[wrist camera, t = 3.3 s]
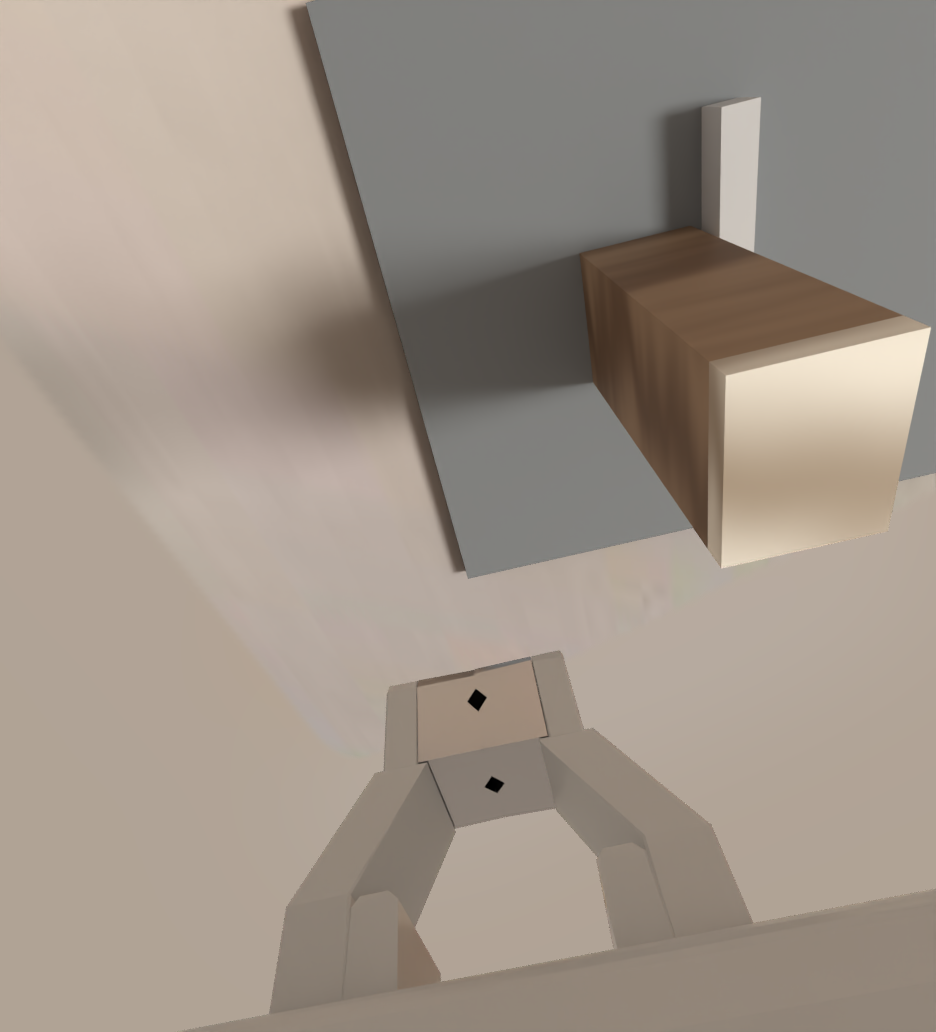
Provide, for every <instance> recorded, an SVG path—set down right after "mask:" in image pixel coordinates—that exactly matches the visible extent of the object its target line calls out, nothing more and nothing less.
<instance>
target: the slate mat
mask: <svg viewBox="0 0 936 1032" xmlns="http://www.w3.org/2000/svg"><path fill="white" fill-rule="evenodd" d="M306 6H307V9H308V13H309V16H310V20H311V23H312V27H313V30H314V34H315V38H316V41H317V45H318V48H319V52H320V55H321V59H322V62H323V66H324V69H325V73H326V77H327V80H328V84H329V87H330V91H331V94H332V98H333V101H334V105H335V108H336V112H337V116H338V119H339V123H340V126H341V130H342V133H343V137H344V140H345V144H346V147H347V151H348V155H349V158H350V162H351V165H352V169H353V172H354V176H355V179H356V183H357V186H358V190H359V194H360V197H361V201H362V204H363V208H364V211H365V215H366V218H367V222H368V225H369V229H370V233H371V236H372V240H373V243H374V247H375V250H376V254H377V257H378V261H379V264H380V268H381V271H382V275H383V279H384V282H385V286H386V289H387V293H388V296H389V300H390V303H391V307H392V310H393V314H394V318H395V321H396V325H397V328H398V332H399V335H400V339H401V342H402V346H403V349H404V353H405V357H406V360H407V364H408V367H409V371H410V374H411V378H412V381H413V385H414V388H415V392H416V396H417V399H418V403H419V406H420V410H421V413H422V417H423V420H424V424H425V427H426V431H427V435H428V438H429V442H430V445H431V449H432V452H433V456H434V459H435V463H436V466H437V470H438V474H439V477H440V481H441V484H442V488H443V491H444V495H445V498H446V502H447V505H448V509H449V513H450V516H451V520H452V523H453V527H454V530H455V534H456V537H457V541H458V544H459V548H460V552H461V555H462V559H463V562H464V566H465V569H466V573H467V576H468V579H469V578H473V577H478V576H482V575H487V574H491V573H495V572H500V571H504V570H509V569H513V568H517V567H522V566H526V565H531V564H535V563H540V562H544V561H548V560H553V559H557V558H562V557H566V556H571V555H575V554H579V553H584V552H588V551H593V550H597V549H601V548H606V547H610V546H615V545H619V544H624V543H628V542H632V541H637V540H641V539H646V538H650V537H655V536H659V535H663V534H668V533H672V532H677V531H681V530H686V529H690V528H693V527H692V525H691V524H690V522H689V521H688V519H687V518H686V516H685V515H684V514H683V512H682V511H681V509H680V508H679V506H678V505H677V503H676V502H675V501H674V499H673V498H672V496H671V495H670V493H669V492H668V490H667V489H666V487H665V486H664V485H663V483H662V482H661V480H660V479H659V477H658V476H657V474H656V473H655V472H654V470H653V469H652V467H651V466H650V464H649V463H648V461H647V460H646V458H645V457H644V456H643V454H642V453H641V451H640V450H639V448H638V447H637V445H636V444H635V442H634V441H633V440H632V438H631V437H630V435H629V434H628V432H627V431H626V429H625V428H624V427H623V425H622V424H621V422H620V421H619V419H618V418H617V416H616V415H615V413H614V412H613V411H612V409H611V408H610V406H609V405H608V403H607V402H606V400H605V399H604V398H603V396H602V395H601V393H600V392H599V390H598V389H597V387H596V386H595V384H594V383H593V376H592V367H591V357H590V348H589V338H588V329H587V320H586V310H585V301H584V291H583V282H582V272H581V263H580V253H582V252H586V251H590V250H594V249H598V248H602V247H606V246H610V245H614V244H618V243H622V242H626V241H631V240H635V239H639V238H643V237H647V236H651V235H655V234H659V233H663V232H667V231H671V230H675V229H679V228H683V227H687V226H692V227H695V228H697V229H700V230H702V231H704V232H707V233H709V234H711V235H714V236H716V237H718V238H721V239H723V240H726V241H728V242H730V243H733V244H735V245H737V246H740V247H742V248H745V249H747V250H749V251H752V252H754V253H756V254H759V255H761V256H764V257H766V258H768V259H771V260H773V261H775V262H778V263H780V264H783V265H785V266H787V267H790V268H792V269H794V270H797V271H799V272H802V273H804V274H806V275H809V276H811V277H813V278H816V279H818V280H821V281H823V282H825V283H828V284H830V285H832V286H835V287H837V288H840V289H842V290H844V291H847V292H849V293H851V294H854V295H856V296H858V297H861V298H863V299H866V300H868V301H870V302H873V303H875V304H877V305H880V306H882V307H885V308H887V309H889V310H892V311H894V312H896V313H899V314H901V315H904V316H906V317H908V318H911V319H913V320H915V321H918V322H920V323H923V324H925V325H927V326H930V327H931V331H930V335H929V340H928V345H927V349H926V354H925V359H924V363H923V368H922V373H921V377H920V382H919V387H918V392H917V396H916V401H915V406H914V410H913V415H912V420H911V424H910V429H909V434H908V439H907V443H906V448H905V453H904V457H903V462H902V467H901V471H900V476H899V481H902V480H907V479H911V478H915V477H920V476H924V475H929V474H933V473H936V0H315V1H311V2H308V3H306Z"/></svg>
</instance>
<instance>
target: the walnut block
mask: <svg viewBox="0 0 936 1032" xmlns="http://www.w3.org/2000/svg"><path fill="white" fill-rule="evenodd" d="M580 263H581V272H582V282H583V291H584V301H585V310H586V320H587V329H588V338H589V348H590V357H591V367H592V376H593V383H594V384H595V386H596V387H597V389H598V390H599V392H600V393H601V395H602V396H603V398H604V399H605V400H606V402H607V403H608V405H609V406H610V408H611V409H612V411H613V412H614V413H615V415H616V416H617V418H618V419H619V421H620V422H621V424H622V425H623V427H624V428H625V429H626V431H627V432H628V434H629V435H630V437H631V438H632V440H633V441H634V442H635V444H636V445H637V447H638V448H639V450H640V451H641V453H642V454H643V456H644V457H645V458H646V460H647V461H648V463H649V464H650V466H651V467H652V469H653V470H654V472H655V473H656V474H657V476H658V477H659V479H660V480H661V482H662V483H663V485H664V486H665V487H666V489H667V490H668V492H669V493H670V495H671V496H672V498H673V499H674V501H675V502H676V503H677V505H678V506H679V508H680V509H681V511H682V512H683V514H684V515H685V516H686V518H687V519H688V521H689V522H690V524H691V525H692V527H693V528H694V530H695V531H696V532H697V534H698V535H699V537H700V538H701V540H702V541H703V543H704V544H705V546H706V547H707V548H708V550H709V551H710V553H711V554H712V556H713V557H714V559H715V560H716V561H717V563H718V564H719V566H720V567H721V568H725V567H730V566H734V565H739V564H743V563H748V562H752V561H757V560H761V559H766V558H770V557H775V556H779V555H784V554H788V553H793V552H797V551H802V550H806V549H811V548H815V547H820V546H824V545H829V544H833V543H838V542H842V541H847V540H851V539H856V538H860V537H864V536H869V535H873V534H878V533H882V532H887V531H888V528H889V523H890V518H891V514H892V509H893V504H894V500H895V495H896V490H897V485H898V481H899V476H900V471H901V467H902V462H903V457H904V453H905V448H906V443H907V439H908V434H909V429H910V424H911V420H912V415H913V410H914V406H915V401H916V396H917V392H918V387H919V382H920V377H921V373H922V368H923V363H924V359H925V354H926V349H927V345H928V340H929V335H930V331H931V327H930V326H927V325H925V324H923V323H920V322H918V321H915V320H913V319H911V318H908V317H906V316H904V315H901V314H899V313H896V312H894V311H892V310H889V309H887V308H885V307H882V306H880V305H877V304H875V303H873V302H870V301H868V300H866V299H863V298H861V297H858V296H856V295H854V294H851V293H849V292H847V291H844V290H842V289H840V288H837V287H835V286H832V285H830V284H828V283H825V282H823V281H821V280H818V279H816V278H813V277H811V276H809V275H806V274H804V273H802V272H799V271H797V270H794V269H792V268H790V267H787V266H785V265H783V264H780V263H778V262H775V261H773V260H771V259H768V258H766V257H764V256H761V255H759V254H756V253H754V252H752V251H749V250H747V249H745V248H742V247H740V246H737V245H735V244H733V243H730V242H728V241H726V240H723V239H721V238H718V237H716V236H714V235H711V234H709V233H707V232H704V231H702V230H700V229H697V228H695V227H692V226H687V227H683V228H679V229H675V230H671V231H667V232H663V233H659V234H655V235H651V236H647V237H643V238H639V239H635V240H631V241H626V242H622V243H618V244H614V245H610V246H606V247H602V248H598V249H594V250H590V251H586V252H582V253H580Z"/></svg>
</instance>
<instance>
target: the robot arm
mask: <svg viewBox="0 0 936 1032" xmlns="http://www.w3.org/2000/svg"><path fill="white" fill-rule="evenodd" d="M532 664H533V665H532ZM534 673H535V674H534ZM535 677H536V678H535ZM537 686H538V687H537ZM540 699H541V700H540ZM555 808H556V810H557V812H558V813H559V814H560V815H561V816H562V817H563V819H564V820H565V821H566V822H567V823H568V824H569V825H570V826H571V828H572V829H573V830H574V831H575V832H576V833H577V834H578V836H579V837H580V838H581V839H582V840H583V841H584V842H585V844H586V845H587V846H588V847H589V848H590V849H591V850H592V851H593V853H594V854H595V855H596V856H597V857H598V858H597V865H598V871H599V876H600V881H601V887H602V892H603V896H604V902H605V907H606V913H607V917H608V923H609V928H610V933H611V939H612V943H613V947H614V949H613V950H608V951H602V952H597V953H591V954H586V955H581V956H575V957H570V958H565V959H559V960H554V961H549V962H544V963H538V964H533V965H528V966H522V967H517V968H512V969H506V970H501V971H496V972H490V973H485V974H480V975H475V976H469V977H464V978H458V979H453V980H448V981H442V982H441V978H440V971H439V970H438V968H437V966H436V965H435V963H434V961H433V959H432V957H431V956H430V954H429V952H428V950H427V949H426V947H425V945H424V943H423V942H422V940H421V938H420V936H419V934H418V933H417V931H416V930H415V926H416V924H417V921H418V919H419V917H420V914H421V912H422V910H423V907H424V905H425V903H426V900H427V898H428V896H429V893H430V891H431V889H432V886H433V884H434V882H435V879H436V877H437V875H438V872H439V870H440V868H441V865H442V863H443V861H444V858H445V856H446V854H447V851H448V849H449V847H450V844H451V842H452V840H453V837H454V835H455V833H456V831H455V828H459V827H464V826H468V825H473V824H477V823H481V822H486V821H490V820H494V819H499V818H503V817H508V816H514V815H520V814H526V813H531V812H537V811H543V810H549V809H555ZM177 1032H936V889H932V890H926V891H921V892H916V893H910V894H905V895H900V896H895V897H889V898H884V899H879V900H873V901H868V902H863V903H857V904H852V905H847V906H841V907H836V908H831V909H825V910H821V911H815V912H810V913H805V914H799V915H794V916H788V917H783V918H778V919H772V920H767V921H762V922H756V923H753V921H752V919H751V916H750V914H749V912H748V909H747V907H746V905H745V902H744V900H743V898H742V896H741V893H740V891H739V888H738V886H737V884H736V882H735V879H734V877H733V874H732V872H731V870H730V867H729V865H728V863H727V861H726V858H725V856H724V853H723V851H722V848H721V846H720V844H719V842H718V839H717V837H716V835H715V832H714V830H713V827H712V825H711V824H710V823H708V822H707V821H706V820H705V819H704V818H702V817H701V816H700V815H699V814H698V813H696V812H695V811H694V810H693V809H691V808H690V807H689V806H688V805H687V804H685V803H684V802H683V801H682V800H680V799H679V798H678V797H677V796H676V795H674V794H673V793H672V792H671V791H669V790H668V789H667V788H666V787H664V786H663V785H662V784H661V783H660V782H658V781H657V780H656V779H655V778H653V777H652V776H651V775H650V774H649V773H647V772H646V771H645V770H644V769H643V768H641V767H640V766H639V765H638V764H636V763H635V762H634V761H633V760H631V759H630V758H629V757H628V756H627V755H625V754H624V753H623V752H622V751H621V750H619V749H618V748H616V746H614V745H613V744H612V743H611V742H610V741H608V740H607V739H606V738H605V737H603V736H602V735H601V734H600V733H599V732H597V731H596V730H595V729H593V728H591V729H584V728H583V724H582V721H581V717H580V714H579V710H578V707H577V703H576V700H575V696H574V693H573V689H572V686H571V683H570V679H569V675H568V672H567V669H566V665H565V661H564V658H563V654H562V653H561V652H560V651H554V652H550V653H545V654H541V655H536V656H532V661H531V657H527V658H522V659H518V660H513V661H509V662H504V663H500V664H496V665H491V666H487V667H482V668H478V669H475V670H472V671H466V672H461V673H456V674H450V675H445V676H440V677H434V678H429V679H424V680H418V681H416V682H410V683H405V684H400V685H395V686H390V687H389V690H388V693H387V702H386V726H385V750H384V771H382V772H378V773H375V774H374V776H373V777H372V779H371V780H370V781H369V783H368V785H367V786H366V788H365V789H364V791H363V792H362V794H361V795H360V797H359V798H358V800H357V801H356V803H355V804H354V806H353V807H352V809H351V810H350V812H349V813H348V815H347V816H346V818H345V819H344V821H343V822H342V824H341V825H340V827H339V828H338V830H337V831H336V833H335V834H334V836H333V837H332V839H331V840H330V842H329V844H328V845H327V847H326V848H325V850H324V851H323V853H322V854H321V856H320V857H319V859H318V860H317V862H316V863H315V865H314V866H313V868H312V869H311V871H310V872H309V874H308V875H307V877H306V878H305V880H304V881H303V883H302V884H301V886H300V888H299V889H298V890H297V892H296V894H295V895H294V897H293V898H292V899H291V901H290V902H289V904H288V906H287V907H286V912H285V918H284V924H283V931H282V937H281V943H280V949H279V956H278V962H277V968H276V974H275V980H274V987H273V993H272V1000H271V1006H270V1012H269V1014H267V1015H262V1016H257V1017H252V1018H246V1019H241V1020H236V1021H230V1022H226V1023H220V1024H215V1025H209V1026H204V1027H199V1028H193V1029H188V1030H183V1031H177Z"/></svg>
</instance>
